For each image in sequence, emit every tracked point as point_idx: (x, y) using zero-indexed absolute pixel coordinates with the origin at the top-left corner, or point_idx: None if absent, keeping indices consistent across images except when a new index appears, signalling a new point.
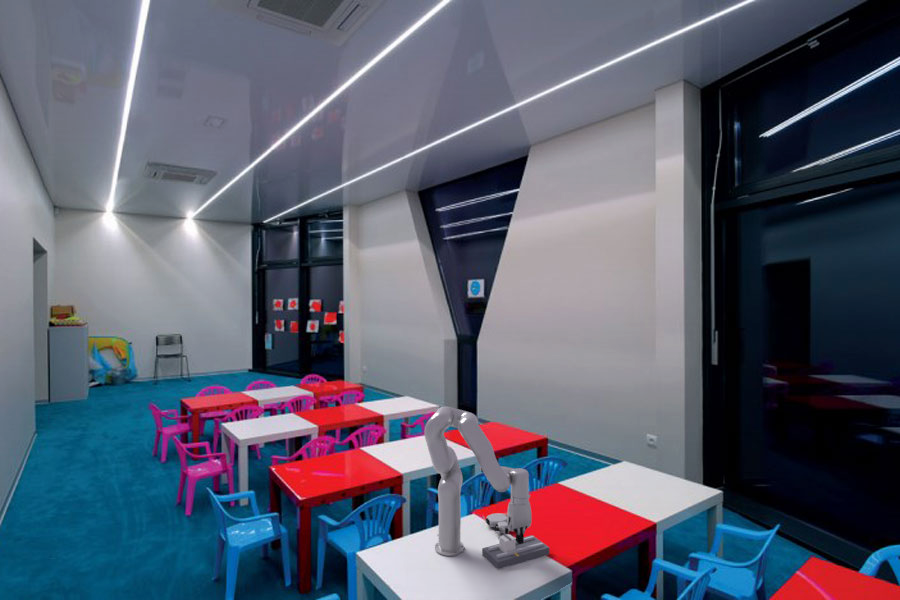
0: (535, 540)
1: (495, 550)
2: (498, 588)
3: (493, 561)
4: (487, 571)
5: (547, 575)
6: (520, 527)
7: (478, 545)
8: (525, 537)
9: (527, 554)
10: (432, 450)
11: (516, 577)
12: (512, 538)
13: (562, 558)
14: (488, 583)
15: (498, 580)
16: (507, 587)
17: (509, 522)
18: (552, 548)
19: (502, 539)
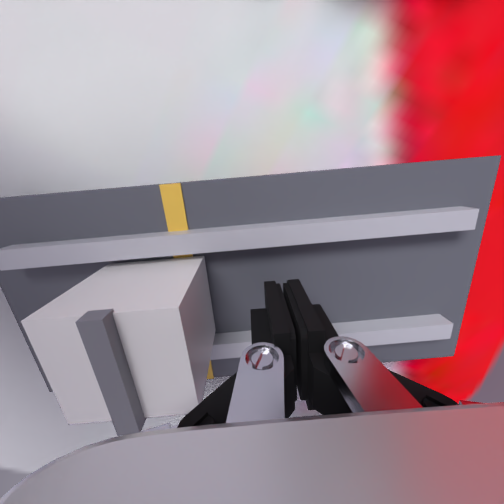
0: (449, 248)
1: (72, 270)
2: (45, 458)
3: None
4: (20, 353)
5: None
6: (358, 403)
7: (13, 26)
8: (417, 172)
9: None
10: None
11: (150, 425)
12: (170, 399)
13: (446, 373)
14: (7, 425)
15: (60, 421)
16: None
17: (96, 484)
18: (488, 280)
19: (51, 373)
